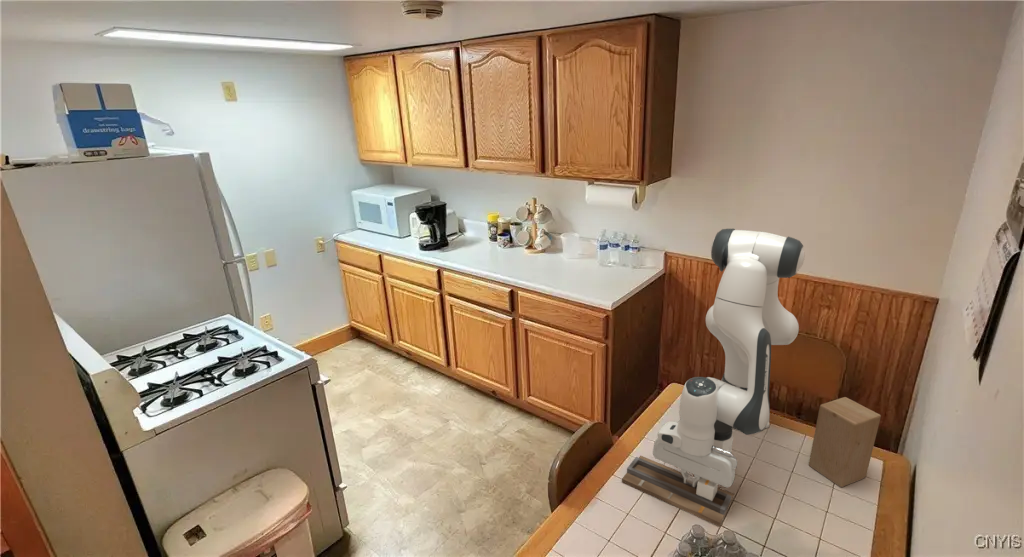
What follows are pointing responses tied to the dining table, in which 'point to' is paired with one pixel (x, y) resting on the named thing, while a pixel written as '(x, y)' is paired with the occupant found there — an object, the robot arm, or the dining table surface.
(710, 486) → the fader knob
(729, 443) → the jar
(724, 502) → the slider track
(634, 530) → the dining table surface
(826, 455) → the wooden block
